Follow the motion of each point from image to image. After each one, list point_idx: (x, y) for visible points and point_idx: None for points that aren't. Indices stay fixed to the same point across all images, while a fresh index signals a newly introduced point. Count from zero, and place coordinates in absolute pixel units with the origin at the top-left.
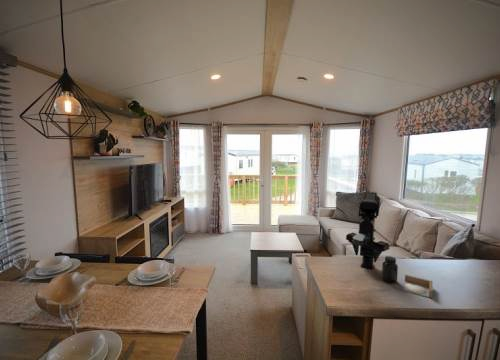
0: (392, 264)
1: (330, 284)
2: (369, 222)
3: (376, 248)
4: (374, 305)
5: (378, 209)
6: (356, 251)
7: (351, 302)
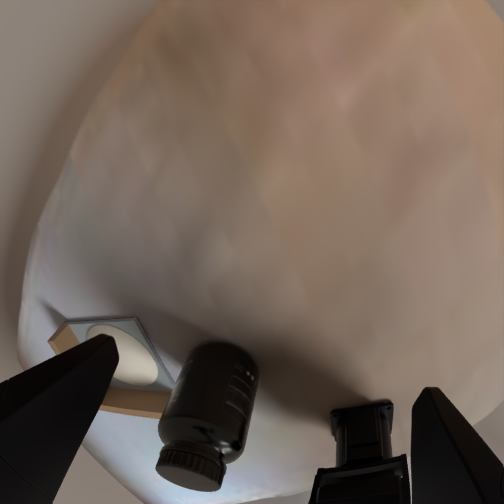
0: (170, 439)
1: (462, 48)
2: None
3: None
4: (137, 39)
5: None
6: (443, 443)
7: None
